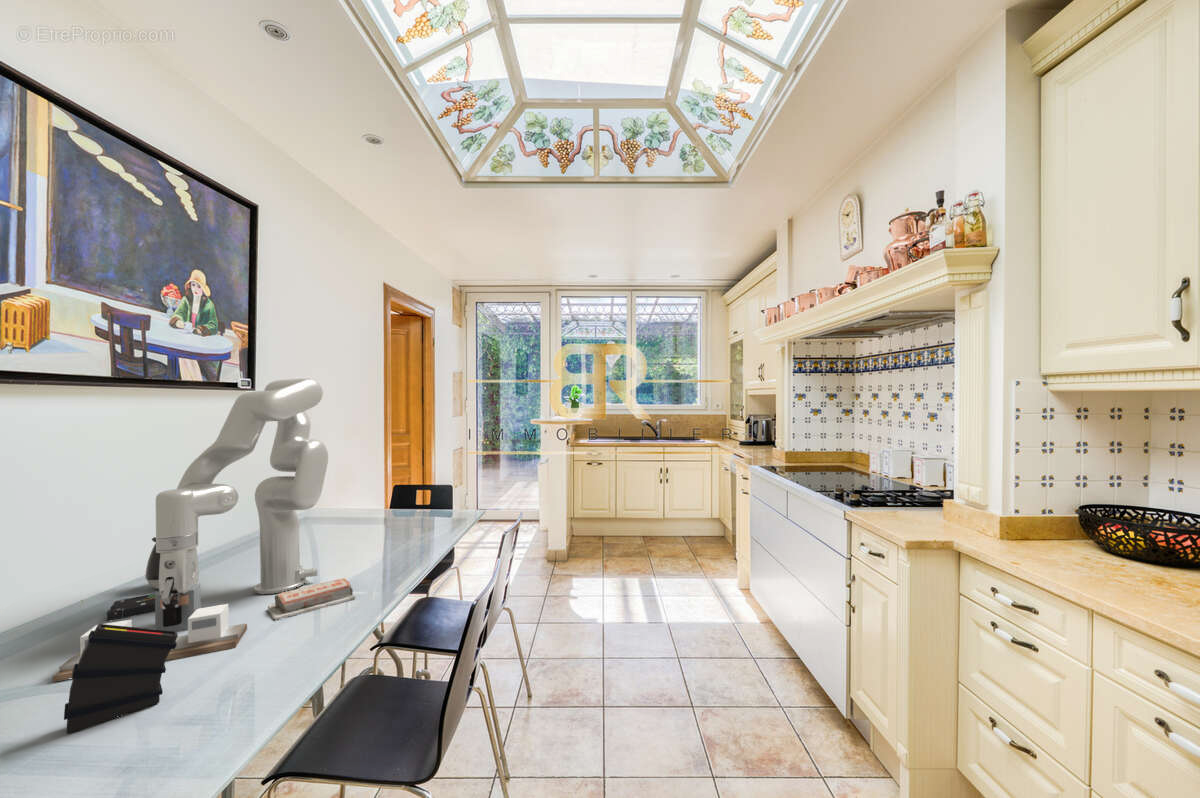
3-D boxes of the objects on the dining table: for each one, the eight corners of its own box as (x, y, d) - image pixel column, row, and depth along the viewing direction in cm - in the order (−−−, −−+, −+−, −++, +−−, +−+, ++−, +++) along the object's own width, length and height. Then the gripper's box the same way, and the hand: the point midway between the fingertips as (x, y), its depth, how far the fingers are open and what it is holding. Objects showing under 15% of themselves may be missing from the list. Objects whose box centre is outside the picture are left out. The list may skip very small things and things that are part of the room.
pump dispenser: (171, 580, 150) (170, 530, 150) (200, 580, 148) (199, 530, 149) (135, 592, 140) (134, 539, 140) (166, 592, 138) (165, 539, 139)
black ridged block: (35, 725, 75) (95, 622, 80) (142, 725, 83) (189, 632, 89) (34, 736, 72) (95, 629, 77) (143, 734, 81) (192, 638, 86)
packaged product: (344, 574, 135) (355, 582, 128) (344, 591, 135) (355, 601, 128) (266, 592, 123) (274, 602, 116) (267, 611, 123) (274, 623, 116)
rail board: (247, 628, 112) (246, 620, 112) (235, 647, 103) (235, 637, 103) (82, 658, 100) (82, 649, 100) (52, 682, 91) (52, 671, 91)
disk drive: (106, 624, 119) (185, 607, 128) (106, 613, 119) (185, 596, 128) (114, 611, 127) (188, 596, 136) (114, 600, 127) (188, 586, 136)
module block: (200, 621, 117) (200, 583, 117) (194, 629, 113) (193, 590, 113) (163, 627, 114) (162, 589, 114) (155, 635, 110) (154, 595, 110)
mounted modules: (228, 626, 109) (228, 603, 109) (220, 637, 103) (219, 614, 103) (96, 649, 99) (96, 625, 100) (79, 663, 94) (79, 637, 94)
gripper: (184, 548, 108) (185, 630, 107) (209, 532, 124) (210, 603, 123) (140, 554, 105) (141, 638, 104) (171, 536, 120) (172, 609, 120)
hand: (178, 618), depth 114 cm, fingers open, 6 cm apart
